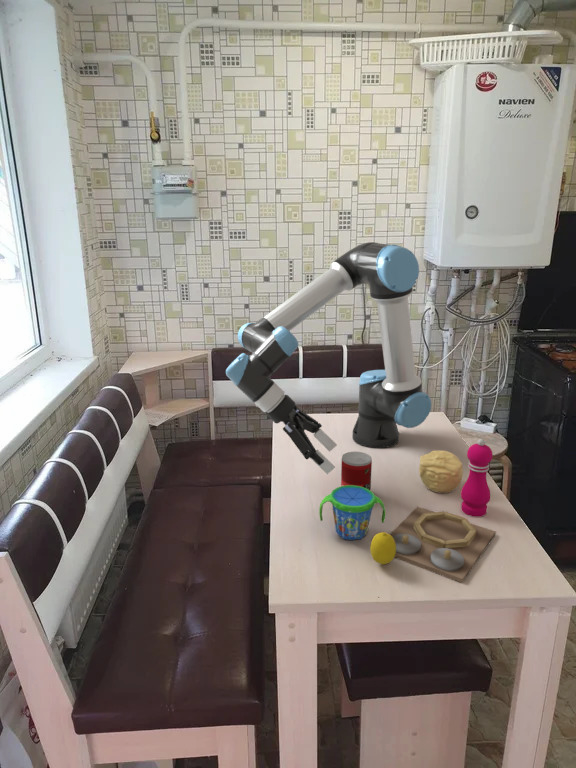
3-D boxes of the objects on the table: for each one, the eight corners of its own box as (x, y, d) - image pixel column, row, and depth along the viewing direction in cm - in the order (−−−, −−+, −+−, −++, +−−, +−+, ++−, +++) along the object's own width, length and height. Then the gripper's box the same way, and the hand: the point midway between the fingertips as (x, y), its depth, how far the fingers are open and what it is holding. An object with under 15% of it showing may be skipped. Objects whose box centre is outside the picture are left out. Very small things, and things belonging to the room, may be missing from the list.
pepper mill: (453, 509, 152) (460, 438, 146) (469, 500, 156) (477, 430, 150) (478, 521, 147) (486, 447, 140) (494, 511, 151) (502, 439, 145)
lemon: (399, 563, 131) (401, 532, 128) (386, 575, 127) (387, 543, 124) (378, 553, 134) (380, 522, 132) (364, 564, 130) (366, 533, 128)
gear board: (417, 509, 152) (418, 497, 151) (495, 535, 141) (496, 522, 140) (377, 550, 135) (377, 537, 134) (462, 583, 124) (463, 568, 123)
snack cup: (384, 523, 146) (386, 486, 143) (384, 548, 136) (386, 509, 133) (321, 518, 148) (321, 482, 145) (316, 542, 139) (317, 504, 135)
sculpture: (414, 492, 161) (416, 456, 157) (424, 473, 171) (426, 439, 168) (457, 501, 156) (460, 464, 153) (464, 481, 167) (468, 446, 163)
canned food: (369, 502, 156) (370, 465, 152) (339, 499, 157) (340, 462, 154) (371, 488, 163) (372, 452, 159) (342, 486, 164) (343, 450, 161)
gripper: (272, 396, 166) (324, 447, 170) (258, 431, 143) (319, 490, 146) (290, 379, 164) (343, 431, 167) (279, 411, 141) (341, 471, 144)
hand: (332, 458), depth 157 cm, fingers open, 13 cm apart
